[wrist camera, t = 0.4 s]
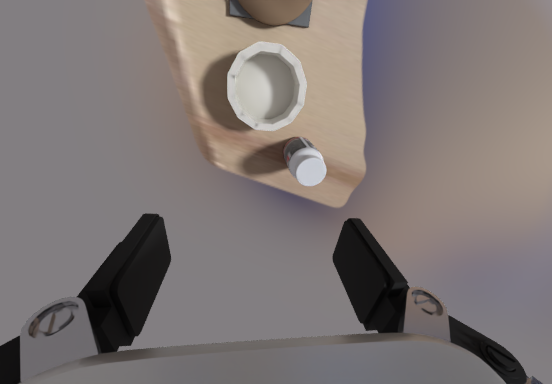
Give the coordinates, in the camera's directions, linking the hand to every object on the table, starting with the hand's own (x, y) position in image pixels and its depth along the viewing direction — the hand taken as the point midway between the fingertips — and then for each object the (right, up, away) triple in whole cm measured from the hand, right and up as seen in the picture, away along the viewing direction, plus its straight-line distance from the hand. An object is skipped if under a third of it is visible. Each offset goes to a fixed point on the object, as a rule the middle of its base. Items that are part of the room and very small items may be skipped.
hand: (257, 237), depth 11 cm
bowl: (-1, +19, +22) cm, 29 cm away
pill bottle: (+5, +10, +28) cm, 31 cm away
